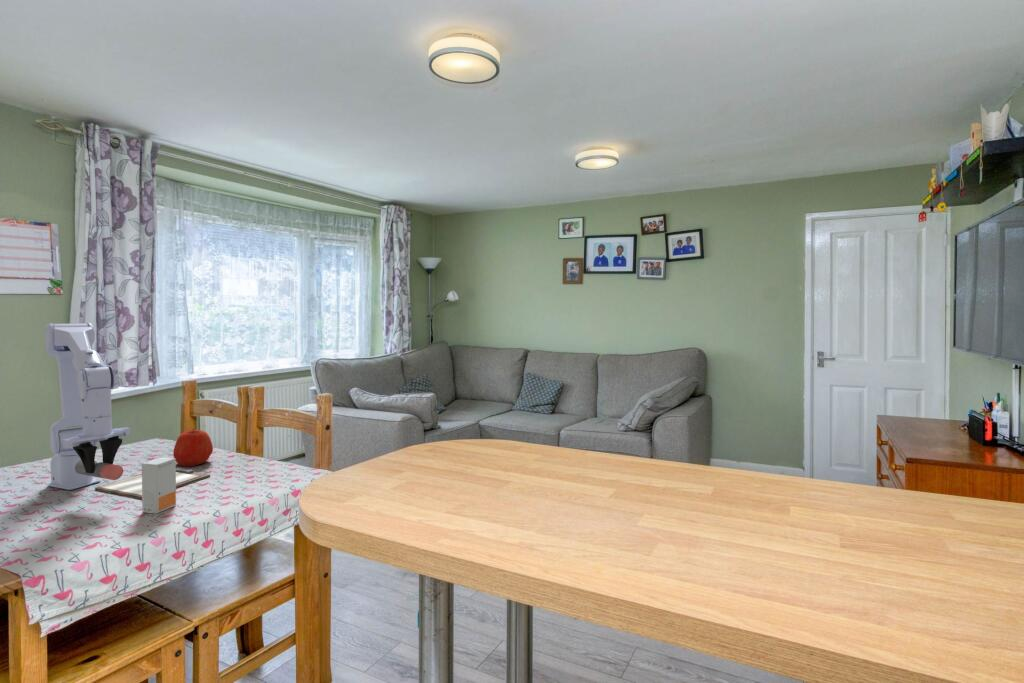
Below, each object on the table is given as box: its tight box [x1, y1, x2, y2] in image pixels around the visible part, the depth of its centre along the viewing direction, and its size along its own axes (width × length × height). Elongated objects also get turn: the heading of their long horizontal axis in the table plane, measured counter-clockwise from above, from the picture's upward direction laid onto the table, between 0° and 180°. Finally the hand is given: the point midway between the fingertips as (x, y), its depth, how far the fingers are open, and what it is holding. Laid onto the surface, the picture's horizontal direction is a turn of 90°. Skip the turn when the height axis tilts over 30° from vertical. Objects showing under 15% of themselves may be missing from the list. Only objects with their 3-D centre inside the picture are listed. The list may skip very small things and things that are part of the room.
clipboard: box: [94, 467, 211, 500], centre depth 152 cm, size 18×20×1 cm
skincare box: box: [141, 457, 177, 515], centre depth 133 cm, size 6×4×12 cm
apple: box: [172, 429, 214, 467], centre depth 171 cm, size 11×11×11 cm
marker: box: [75, 460, 124, 481], centre depth 135 cm, size 13×4×4 cm, turn 70°
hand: (98, 470), depth 135 cm, fingers closed on marker, 4 cm apart
